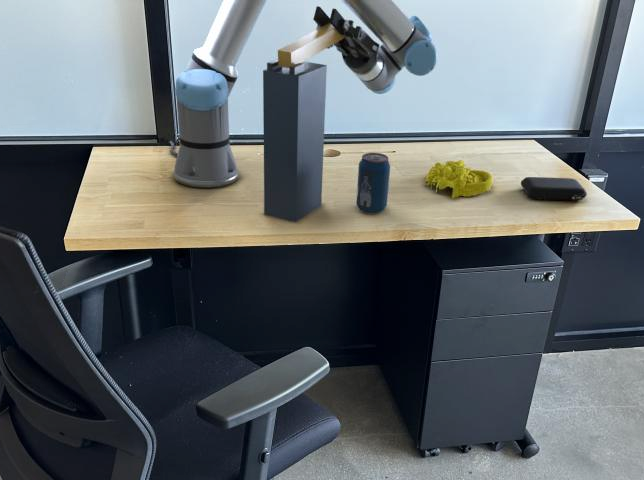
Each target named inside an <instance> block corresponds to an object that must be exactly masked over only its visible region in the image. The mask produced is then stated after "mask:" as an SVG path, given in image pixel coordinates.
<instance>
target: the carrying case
mask: <svg viewBox="0 0 644 480" xmlns="http://www.w3.org/2000/svg"><path fill="white" fill-rule="evenodd" d="M520 186H521V187H522V188H523V190H524V192H525V194H526V195H527V197H529V198H530V199H533V200H549V201H550V200H551V201H582V200H583V199H585V198H586V197H587V195H588V192H587V191H586V189H585V188H584V186H582V184H581V182H579V181H578V180H577V179H575V178H573V177H572V178H569V177H544V176H543V177H541V176H526V177H524V178H523V179H522V180H521V181H520Z"/></svg>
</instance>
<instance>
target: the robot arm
mask: <svg viewBox="0 0 644 480" xmlns="http://www.w3.org/2000/svg"><path fill="white" fill-rule="evenodd" d="M267 1H268V0H223V1H222V3H221V6H220V8H219V10H218V13H217V15H216V18H215V20H214V22H213V24H212V26H211V28H210V30H209V33H208V36H207V37H206V40H205V42H204V44H203V46H202V47H199V48H196V49H194V51H193V52H192V55H191V57H190V60H188V61H189V62H188V64H187V67H185V68H184V70H183V71H182V72H181V73H180V74H179V75H178V76H176V79H175V86H174V95H175V98H176V99H175V101H176V111H177V112H176V114H177V125H178V140H179V147H178V150H177V152H176V151H174V148H175V143H174V142H173V141H172V140H171V141H169V140H167V139H165V138H161V137H160V139H159V140H160V141H164V140H166V141H167V142H168V143H169V144H170V145H171V146H170V147H169V152H170V154H172V155H174V156H176V159H175V162H174V166H173V167H174V168H173V177H174V179H175V181H176V182H178V184H181V185H183V186H187V187H191V188H197V189H198V188H199V189H200V188H201V189H212V188H214V189H215V188H220V187H221V188H222V187H225V186H229V185H231V184H233V183H235V182H236V181H237V180H238V179H239V169H238V165H237V162H236V159H235V157H234V154H233V151H232V148H231V145H230V123H229V122H230V121H229V118H230V117H229V97H230V94H231V92H232V90H233V88H234V86H235V84H236V82H237V80H238V78H239V72H238V70H237V64H238V63H239V61H240V59H241V56H242V54H243V52H244V49H245V47H246V45H247V43H248V41H249V39H250V37H251V35H252V32H253V31H254V28H255V26H256V24H257V22H258V20H259V17H260V16H261V13H262V11H263V9H264V7H265V5H266V4H267ZM341 2H342V3H343V4H344V5H345V6H346V7H347V8H348V9H349V10H350V11H351V12H352V14H354V15H355V16H356V17H357V18H358V19H359V20H360V21H361V22H362V24H364V25H365V26H366V27H367V28H368V29H369V31H370V32H372V34H373V35H374V36H375V37H376V38H377V39H378V40H379V41H380V42H381V43H382V44H381V45H380V43H378V42H377V41H375V40H374V39H373V38H372V37H371V36H370V35H369V33H367V32H366V31H365V30H364V28H362V27H361V26H359V25H356V26H355V27H354V24H355V21H354V20H352V19H345V18H344V17H343V16H342V14H341V13H340V12H339V11H338V10H337V9H336V8H332V9H331V13H330V16H329V15H328V14H327V13H326V12H325V11H324V9H323V8H322V7H321V6H319V5H317V6H316V7H315V11H314V15H313V21H314V22H315V24H316V29H315V30H317V29H319V28H321V27H323V26H325V25H327V24H328V23H331V24H332V26H333V27H334V28H335V29H336V30H337V31H338V32H339V34H340V35H344V33H345V38H343V39H342V40H340V41H338V42H337V43H335V44H333V45H331V46H330V47H328V48H326V49H328V50H329V49H331V48H333V47H334V48H335V49H336V51H337V52H339V53H341V57H342V61H343V63H344V65H346V67H347V68H348V69H349V70H350V71H351V72H352V73H353V74H354V75H355V76H356V77H357V78H358V80H360V81H361V83H362V84H363V85H364V86H365V87H366V89H368V90H369V91H371V92H372V93H374V94H378V95H382V94H387V93H388V92H389V91H391V90H392V89H393V87H394V86H395V82H396V76H397V75H398V74H399V73H400V72H401V71H402V70H403V69H404V68H405V69H406V70H407V71H408V72H409V73H411V74H412V75H414V76H417V77H423V76H426V75H428V74H430V73H431V72H432V71H433V70H434V69H435V68H436V65H437V64H438V63H437V62H438V50H437V48H436V46H435V44H434V43H433V42H432V40H433V35H432V34H431V31H430V30H429V29H428V27H426V25H425V23H423V21H422V20H421V19H420V17H418V16H416V15H412V16H410V17H408V16H407V15H406V14H405V13H404V12H403V11H402V10H401V9H400V8H399V6H397V4H396V3H395V2H394V1H393V0H341ZM346 20H348V22H347V21H346Z"/></svg>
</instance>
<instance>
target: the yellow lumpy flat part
mask: <svg viewBox="0 0 644 480" xmlns="http://www.w3.org/2000/svg"><path fill="white" fill-rule="evenodd" d="M424 183H425V184H424V185H425V186H426V185H427V187H429V186H431V185H433V186H436V188H435V193H437V192H438V189H439V191H440V190H444V189H448V188H447V187H449V188H451V189H452V195H451V198H452V199H454V198H455V199H456V198H458V197H462V196H463V197H471V196H477V195H482V194H484V193H486V192H489V191H490V190H491V189H492V186H493V175H492V174H491V173H490V172H488V171H485V170H478V169H472V168H471V167H466V165H465V160H462V159H460V160H457V161H453V160H448V161H446V162H445V164H444V163H441V162H439V161H437V162H436V163H435V164H434V166H432V167H431V168H430V169H429V171H428V172H427V175H426V178H425V182H424ZM430 189H431V190H432V187H430Z"/></svg>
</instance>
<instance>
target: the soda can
mask: <svg viewBox="0 0 644 480" xmlns="http://www.w3.org/2000/svg"><path fill="white" fill-rule="evenodd" d="M390 173H391V163H390V161H389V156H388V155H386V154H384V153H381V152H367V153H363V154H362V156H361V159H360V161H359V162H358V173H357V184H356V185H357V186H356V200H355V203H356V206H357V208H358V211H360V212H361V213H364V214H366V215H379V214H381V213H383V212H384V211H385V209H386V208H387V206H388V198H389V197H388V196H389V186H390V175H391V174H390Z"/></svg>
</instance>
